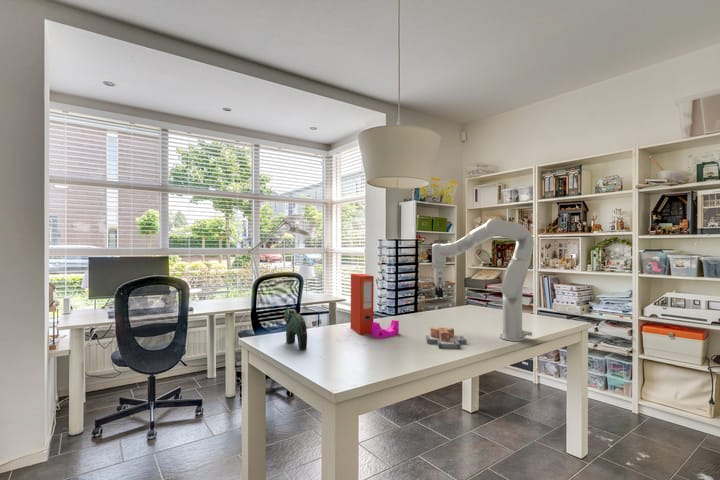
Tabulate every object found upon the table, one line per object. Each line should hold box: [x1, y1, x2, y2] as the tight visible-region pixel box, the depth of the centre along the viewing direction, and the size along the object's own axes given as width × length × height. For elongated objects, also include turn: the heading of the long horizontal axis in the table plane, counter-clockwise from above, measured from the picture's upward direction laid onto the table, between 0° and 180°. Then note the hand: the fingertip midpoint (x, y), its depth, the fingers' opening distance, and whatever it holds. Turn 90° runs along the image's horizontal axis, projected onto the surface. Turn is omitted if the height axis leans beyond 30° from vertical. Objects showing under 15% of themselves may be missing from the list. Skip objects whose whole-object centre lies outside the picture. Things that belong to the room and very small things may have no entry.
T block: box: [429, 327, 455, 342], centre depth 196 cm, size 12×12×4 cm
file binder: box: [350, 273, 375, 336], centre depth 212 cm, size 8×17×32 cm, turn 19°
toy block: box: [371, 319, 400, 339], centre depth 202 cm, size 15×6×8 cm, turn 117°
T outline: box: [425, 334, 467, 350], centre depth 184 cm, size 19×16×2 cm
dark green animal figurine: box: [283, 304, 308, 351], centre depth 182 cm, size 20×6×20 cm, turn 33°
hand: (438, 296), depth 211 cm, fingers open, 7 cm apart
